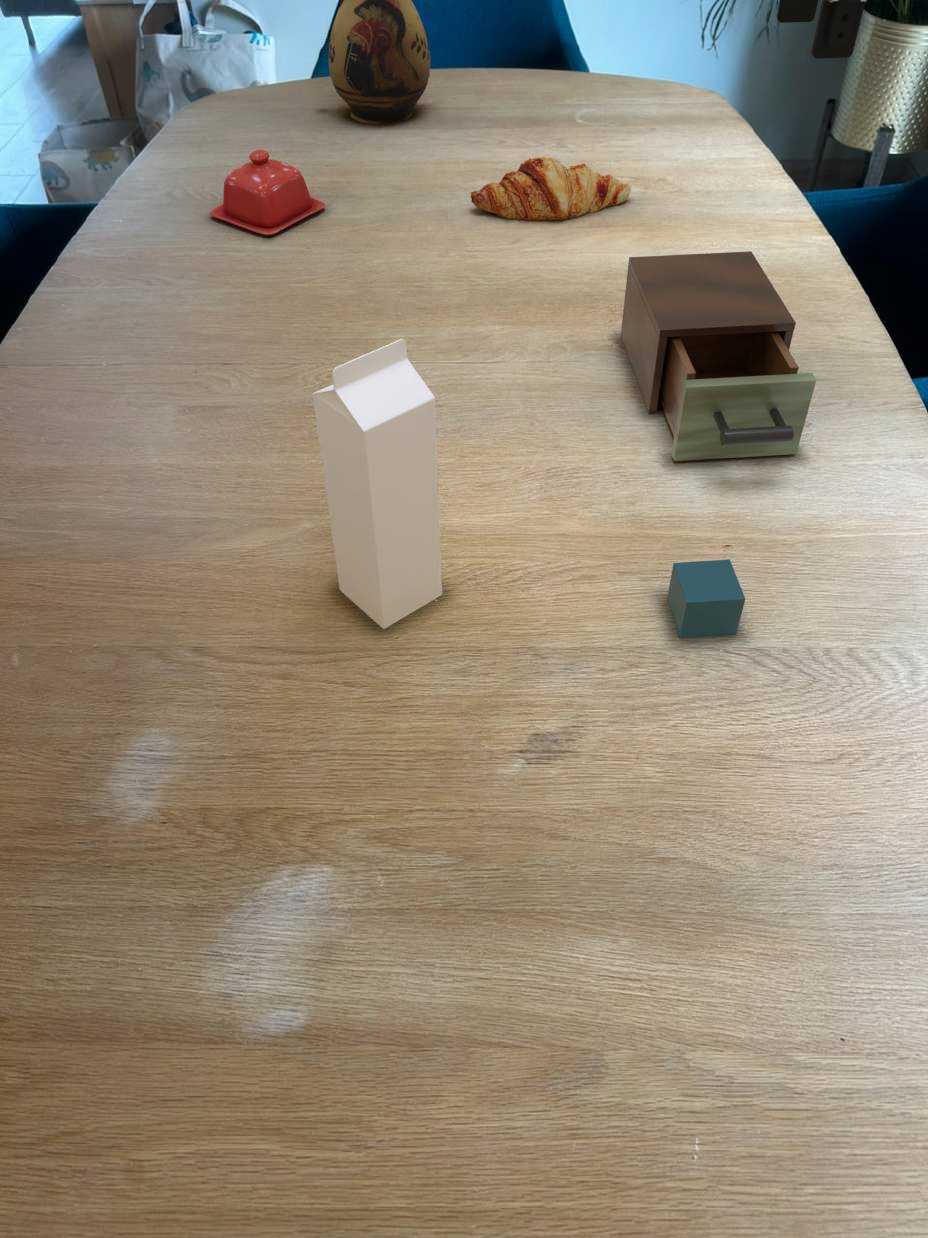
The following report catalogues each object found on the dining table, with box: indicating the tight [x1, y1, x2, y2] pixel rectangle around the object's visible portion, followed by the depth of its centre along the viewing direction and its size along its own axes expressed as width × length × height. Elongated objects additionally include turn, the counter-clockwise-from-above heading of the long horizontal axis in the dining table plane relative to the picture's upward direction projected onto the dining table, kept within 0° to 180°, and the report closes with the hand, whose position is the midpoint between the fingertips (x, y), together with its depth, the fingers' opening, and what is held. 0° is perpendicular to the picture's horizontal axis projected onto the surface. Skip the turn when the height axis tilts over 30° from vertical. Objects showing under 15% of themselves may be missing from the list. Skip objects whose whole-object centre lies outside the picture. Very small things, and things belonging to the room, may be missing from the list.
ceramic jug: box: [328, 0, 431, 126], centre depth 146 cm, size 17×15×30 cm
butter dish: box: [209, 149, 326, 236], centre depth 128 cm, size 12×12×8 cm
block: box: [666, 559, 746, 640], centre depth 77 cm, size 4×4×4 cm
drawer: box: [659, 331, 817, 462], centre depth 92 cm, size 18×11×8 cm, turn 5°
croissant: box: [470, 156, 632, 222], centre depth 130 cm, size 21×10×8 cm, turn 100°
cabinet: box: [620, 250, 797, 415], centre depth 100 cm, size 15×13×10 cm
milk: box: [311, 338, 443, 630], centre depth 73 cm, size 6×6×22 cm
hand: (812, 38), depth 83 cm, fingers open, 9 cm apart
